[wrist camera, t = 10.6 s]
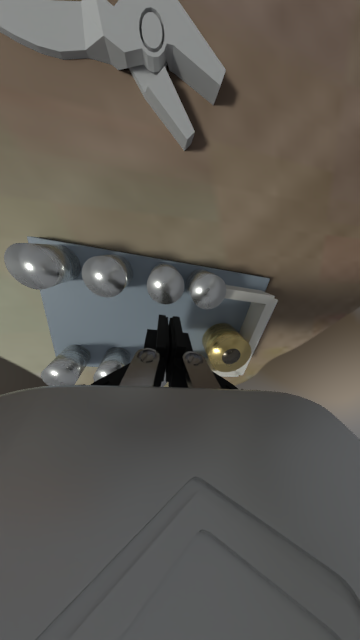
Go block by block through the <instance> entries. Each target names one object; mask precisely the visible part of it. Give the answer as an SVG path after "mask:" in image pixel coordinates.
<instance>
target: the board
mask: <svg viewBox="0 0 360 640" xmlns="http://www.w3.org/2000/svg"><path fill="white" fill-rule="evenodd" d="M27 238H28V243H33V244H54V245H62V246H65V247H67V248H68V249H70V250H71V251H72V252H74V254H75V255H76V256H77V257H78V259H79V261H80V265H81V271H80V274H79V276H78V277H77V278H75V279H73V280H70V281H67V282H64V283H61V284H58V285H56V286H53V287H50V288H47V289H40V292H41V296H42V301H43V305H44V309H45V313H46V317H47V321H48V325H49V330H50V334H51V338H52V342H53V346H54V350H55V354H56V357H57V356H58V355H59V354H60V353H61V352H62V351H63V350H64V349H65V348H66V347H67V346H69V345H80V346H83V347H85V348H86V349H87V350H88V351H89V352H90V354H91V359H90V361H89V362H88V364H87V365H86V366H92V367H99V365H100V363H101V361H102V359H103V357H104V355H105V354H106V352H107V351H108V350H109V349H111V348H114V347H120V348H123V349H125V350H127V351H128V352H129V354H130V361H129V363H131V361H132V359H133V357H134V355H135V353H136V352H137V351H138V350H140V349H143V348H144V343H145V338H146V333H147V329H152V330H157V326H158V318H159V315H166V317H168V325H169V320H170V318H172V317H173V316H177V317H180V321H181V326H182V331H183V332H184V333H188V334H189V338H190V342H191V345H192V349H193V351H194V352H197V353H199V354H201V355H202V356H203V357H204V358H205V360H206V361H207V363H208V365H209V367H210V369H211V370H212V371H213V372H215V373H216V374H218V375H219V376H227V377H238V376H239V375H243V374H244V371H245V369H246V367H247V365H248V363H249V361H250V359H251V357H252V355H253V352H254V350H255V348H256V346H257V344H258V342H259V340H260V338H261V336H262V334H263V331H264V329H265V327H266V325H267V323H268V321H269V319H270V317H271V315H272V312H273V310H274V308H275V306H276V304H277V302H278V300H277V299H275V298H274V297H275V296H274V295H271V294H269V293H266V292H265V290H266V288H267V285H268V283H269V280H270V279H269V278H265V277H261V276H255V275H249V274H244V273H238V272H232V271H226V270H221V269H215V268H209V267H204V266H198V265H192V264H187V263H181V262H175V261H169V260H164V259H158V258H152V257H147V256H141V255H135V254H130V253H124V252H118V251H112V250H107V249H101V248H95V247H90V246H84V245H78V244H73V243H67V242H61V241H55V240H50V239H44V238H38V237H29V236H27ZM112 254H115V255H119V256H122V257H124V258H125V259H126V260H127V261H128V262H129V263H130V265H131V267H132V270H133V277H132V280H131V282H130V283H129V284H128V285H127V286H126V287H125V288H124V289H123V290H122V292H121V293H120V294H118V295H116V296H114V297H108V298H107V297H101V296H98V295H96V294H94V293H93V292H91V291H90V290H89V289H88V288H87V286H86V285H85V283H84V281H83V278H82V267H83V265H84V263H85V262H86V261H87V260H88V259H89V258H91V257H94V256H102V255H112ZM161 263H168V264H171V265H172V266H174V267H175V268H176V269H177V271H178V272H179V273H180V274H181V276H182V278H183V280H184V292H183V294H182V296H181V297H180V299H179V300H177V301H176V302H174V303H172V304H160V303H158V302H156V301H154V300H153V299H152V298H151V297H150V295H149V293H148V290H147V280H148V278H149V275H150V273H151V271H152V269H153V268H154V267H155V266H156V265H158V264H161ZM198 269H203V270H206V271H208V272H210V273H213V274H215V275H217V276H219V277H220V278H222V279H223V281H224V282H225V284H226V295H225V298H224V300H223V301H222V302H221V304H219V305H218V306H217V307H215V308H212V309H202V308H200V307H198V306H197V305H196V304H195V303H194V301H193V300H192V298H191V297H190V295H189V294H188V292H187V290H186V285H185V284H186V279H187V277H188V276H189V274H190V273H192V272H193V271H195V270H198ZM219 323H226V324H229V325H231V326H232V327H233V328H234V329H235V330H236V331H237V332H238V333H239V334H240V335H241V336H242V337H243V338H244V339H245V340H246V341H247V342H248V343H249V345H250V347H251V356H250V358H249V360H248V361H247V362H246V364H245V365H243V366H242V367H241V368H239V369H237V370H235V371H231V372H220V371H218V370H216V369H214V368H213V366H212V365H211V362H210V360H209V358H208V356H207V354H206V351H205V349H204V347H203V344H202V338H203V335H204V333H205V332H206V331H207V329H209V328H210V327H211V326H213V325H215V324H219Z"/></svg>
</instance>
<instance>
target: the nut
mask: <svg viewBox="0 0 360 640" xmlns="http://www.w3.org/2000/svg"><path fill="white" fill-rule="evenodd" d="M202 344H203V347H204V349H205V351H206V354H207V356H208V358H209V360H210V362H211V365H212V366H213V368H214V369H216V370H218V371H220V372H231V371H235V370H237V369H239V368H241V367H242V366H243V365H245V364H246V362H247V361H248V360H249V358H250V356H251V347H250V345H249V343H248V342H247V341H246V340H245V339H244V338H243V337H242V336H241V335H240V334H239V333H238V332H237V331H236V330H235V329H234V328H233V327H232V326H231V325H229V324H226V323H219V324H215V325H213V326H211V327H210V328H209V329H207V331H206V332H205V333H204V335H203V338H202Z"/></svg>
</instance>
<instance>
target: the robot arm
mask: <svg viewBox="0 0 360 640" xmlns="http://www.w3.org/2000/svg"><path fill="white" fill-rule="evenodd" d="M165 370H166V382H169V387H160V386H161V382H163V381H164V376H165ZM0 640H360V439H358V437H357V436H356V435H355V434H353V433H352V432H351V431H350V430H349V429H348V428H347V427H346V426H345V425H344V424H343V423H342V422H341V421H339V420H338V419H337V418H336V417H335V416H334V415H333V414H332V413H331V412H329V411H328V410H327V409H325V408H324V407H322V406H321V405H319V404H317V403H315V402H313V401H310V400H308V399H305V398H302V397H300V396H296V395H292V394H288V393H281V392H272V391H260V390H243V389H241V390H239V389H238V388H236V387H235V386H234V385H233V384H231V383H230V382H228V381H227V380H225V379H224V378H222V377H221V376H219V375H218V374H216V373H215V372H213V371H212V370H211V369H210V367H209V365H208V363H207V361H206V360H205V358H204V357H203V356H202V355H201V354H199V353H197V352H194V351H193V349H192V345H191V342H190V338H189V334H188V333H184V332H183V331H182V326H181V321H180V317H177V316H173V317H172V318H170V320H169V325H168V317H166V315H159V318H158V326H157V330H152V329H147V333H146V338H145V343H144V348H143V349H140V350H138V351H137V352H136V353H135V355H134V357H133V359H132V361H131V363H129V364H127V365H125V366H123V367H121V368H119V369H117V370H116V371H114V372H112V373H110V374H108V375H106V376H104V377H102V378H101V379H99V380H97V381H95V382H94V383H92V384H91V385H85V384H83V385H57V386H44V387H37V388H30V389H24V390H20V391H15V392H11V393H7V394H3V395H0Z"/></svg>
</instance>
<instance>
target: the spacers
mask: <svg viewBox="0 0 360 640" xmlns="http://www.w3.org/2000/svg"><path fill="white" fill-rule="evenodd" d="M4 260H5V264H6V267H7V269H8V271H9V272H10V274H11V275H12V276H13V277H14V278H15V279H16V280H17V281H19V282H20V283H21V284H23V285H25V286H27V287H30V288H33V289H47V288H50V287H53V286H56V285H58V284H61V283H64V282H67V281H70V280H73V279H75V278H77V277H78V276H79V274H80V271H81V265H80V261H79V259H78V257H77V256H76V255H75V254H74V252H72V251H71V250H70V249H68V248H67V247H65V246H62V245H54V244H33V243H16V244H13V245H11V246H9V247H8V248H7V250H6V252H5V255H4ZM132 277H133V270H132V267H131V265H130V263H129V262H128V261H127V260H126V259H125V258H124V257H122V256H119V255H115V254H112V255H102V256H94V257H91V258H89V259H88V260H87V261H86V262H85V263H84V265H83V267H82V278H83V281H84V283H85V285H86V286H87V288H88V289H89V290H90V291H91V292H93V293H94V294H96V295H98V296H101V297H107V298H108V297H114V296H116V295H118V294H120V293H121V292H122V290H123V289H124V288H125V287H126V286H127V285H128V284H129V283H130V282H131V280H132ZM185 285H186V290H187V292H188V294H189V295H190V297H191V298H192V300H193V301H194V303H195V304H196V305H197V306H198V307H200V308H202V309H212V308H215V307H217V306H218V305H219V304H221V302H222V301H223V300H224V298H225V295H226V284H225V282H224V281H223V279H222V278H220V277H219V276H217V275H215V274H213V273H210V272H208V271H206V270H203V269H198V270H195V271H193V272H192V273H190V274H189V276H188V277H187V279H186V284H185ZM147 290H148V293H149V295H150V297H151V298H152V299H153V300H154V301H156V302H158V303H160V304H172V303H174V302H176V301H177V300H179V299H180V297H181V296H182V294H183V292H184V280H183V278H182V276H181V274H180V273H179V272H178V271H177V269H176V268H175V267H174V266H172V265H171V264H168V263H161V264H158V265H156V266H155V267H154V268H153V269H152V271H151V273H150V275H149V278H148V280H147ZM90 359H91V354H90V352H89V351H88V350H87V349H86V348H85V347H83V346H80V345H69V346H67V347H66V348H65V349H64V350H63V351H62V352H61V353H60V354H59V355H58V356H57V357H56V358H55V359H54V360H53V361H52V362H51V363H50V364H49V365H48V366H47V367H46V368H45V369H44V370H43V372H42V374H41V377H42V380H43V381H44V382H45V383H47V384H48V385H49V386H57V385H74V384H75V383H76V381H77V380H78V378H79V376H80V375H81V373H82V372H83V370H84V369H85V367H86V365H87V364H88V362H89V361H90ZM129 361H130V354H129V352H128V351H127V350H125V349H123V348H120V347H114V348H111V349H109V350H108V351H107V352H106V354H105V355H104V357H103V359H102V361H101V363H100V365H99V367H98V369H97V371H96V373H95V374H94V382H95V381H97V380H99V379H101V378H102V377H104V376H106V375H108V374H110V373H112V372H114V371H116V370H117V369H119V368H121V367H123V366H125V365H127V364H129ZM166 383H167V382H166V370H165V376H164V381H163V382H161V386H160V387H163V386H164V385H165V384H166Z"/></svg>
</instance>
